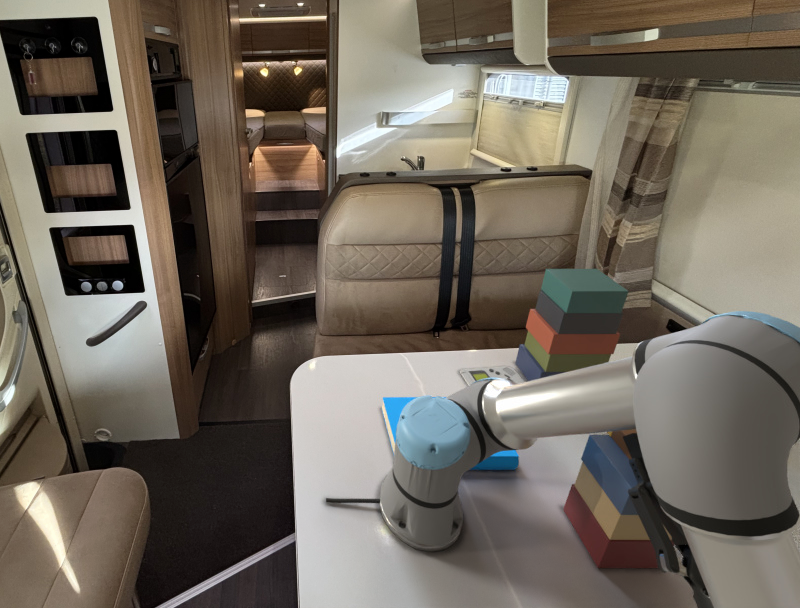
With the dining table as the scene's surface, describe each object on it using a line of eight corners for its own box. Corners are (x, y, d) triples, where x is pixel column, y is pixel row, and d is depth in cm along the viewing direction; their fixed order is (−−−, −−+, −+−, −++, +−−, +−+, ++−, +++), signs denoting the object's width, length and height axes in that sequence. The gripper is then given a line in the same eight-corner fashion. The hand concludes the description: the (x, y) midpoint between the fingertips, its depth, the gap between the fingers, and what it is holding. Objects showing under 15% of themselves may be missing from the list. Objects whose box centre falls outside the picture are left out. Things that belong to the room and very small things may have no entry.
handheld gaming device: (530, 388, 109) (475, 392, 108) (530, 390, 110) (474, 394, 108) (511, 365, 117) (459, 368, 116) (510, 367, 118) (458, 370, 116)
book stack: (602, 391, 109) (637, 291, 98) (535, 392, 109) (563, 291, 98) (575, 362, 119) (605, 268, 108) (515, 362, 120) (538, 268, 108)
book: (381, 397, 103) (484, 394, 103) (380, 410, 104) (482, 408, 105) (399, 460, 87) (521, 456, 87) (398, 475, 89) (517, 471, 89)
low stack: (597, 568, 72) (632, 489, 65) (562, 509, 81) (589, 434, 74) (662, 568, 72) (704, 489, 65) (620, 509, 81) (652, 434, 74)
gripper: (651, 630, 57) (578, 439, 71) (793, 630, 57) (692, 439, 71) (692, 639, 51) (604, 429, 65) (852, 640, 51) (728, 429, 65)
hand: (650, 435), depth 68 cm, fingers open, 6 cm apart
